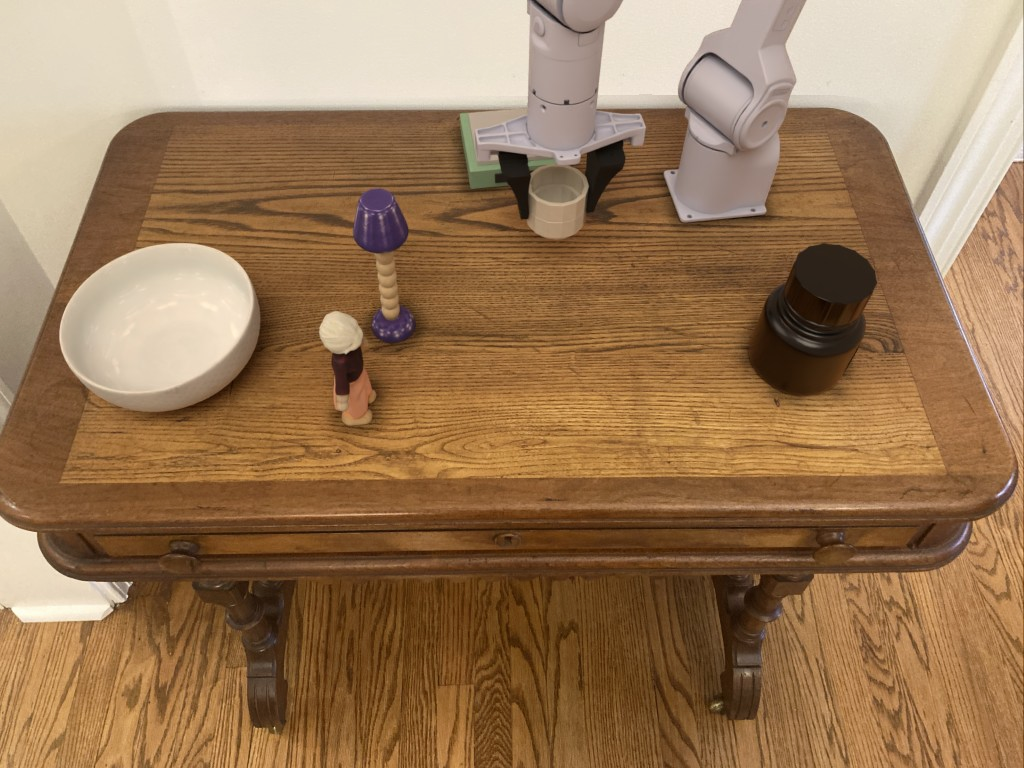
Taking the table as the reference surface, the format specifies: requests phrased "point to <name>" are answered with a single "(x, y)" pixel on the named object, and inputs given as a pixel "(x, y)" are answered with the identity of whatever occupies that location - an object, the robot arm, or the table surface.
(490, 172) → the scale
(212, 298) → the cereal bowl
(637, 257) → the table surface
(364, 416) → the grandmother figurine
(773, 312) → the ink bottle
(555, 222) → the white cup
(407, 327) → the toy lamp
